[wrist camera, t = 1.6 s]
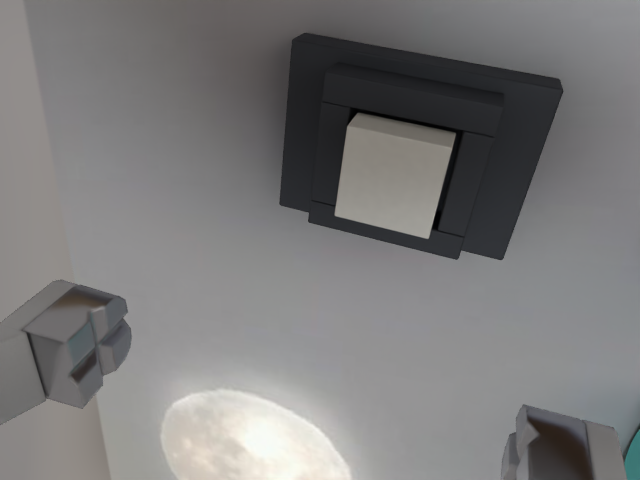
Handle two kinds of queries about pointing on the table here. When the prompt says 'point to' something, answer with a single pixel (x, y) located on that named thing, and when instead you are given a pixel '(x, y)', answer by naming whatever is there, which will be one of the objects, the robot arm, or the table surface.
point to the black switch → (426, 110)
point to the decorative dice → (633, 459)
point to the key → (392, 173)
